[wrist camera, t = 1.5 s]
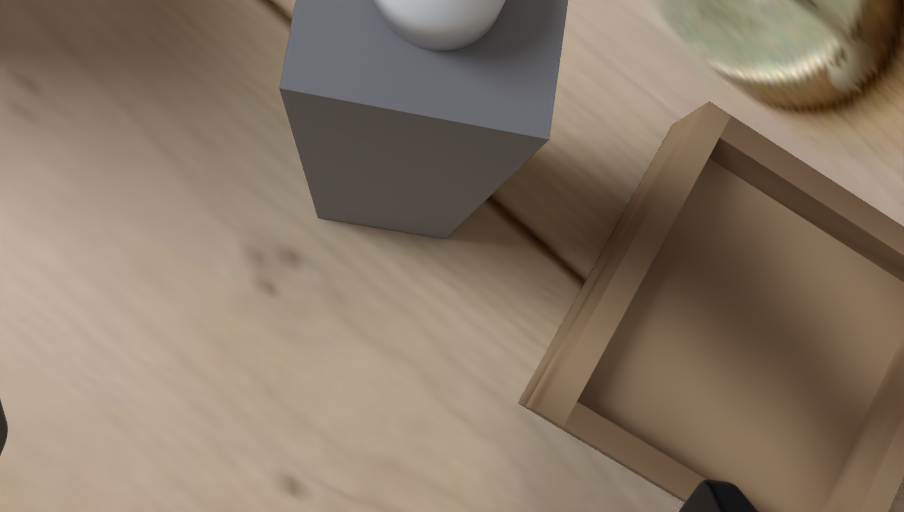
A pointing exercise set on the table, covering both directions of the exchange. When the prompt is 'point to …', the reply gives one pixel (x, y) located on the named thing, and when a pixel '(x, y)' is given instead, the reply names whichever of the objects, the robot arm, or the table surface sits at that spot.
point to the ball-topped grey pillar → (418, 103)
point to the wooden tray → (740, 331)
